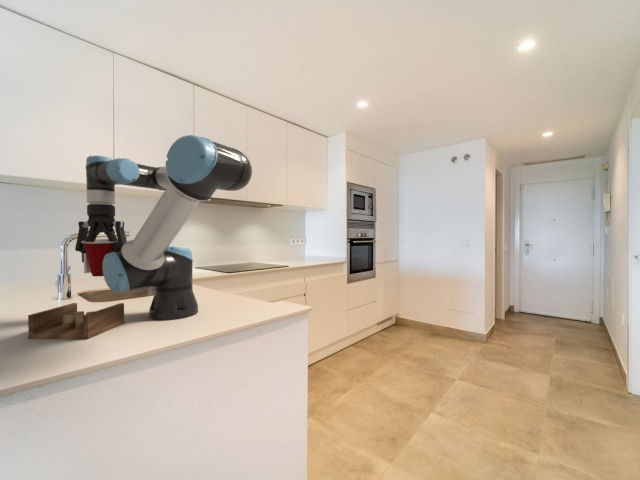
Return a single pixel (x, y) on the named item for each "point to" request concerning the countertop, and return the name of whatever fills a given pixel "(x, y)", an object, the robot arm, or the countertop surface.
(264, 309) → the countertop surface
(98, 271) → the plastic cup
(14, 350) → the countertop surface
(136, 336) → the countertop surface
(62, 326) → the peg board
